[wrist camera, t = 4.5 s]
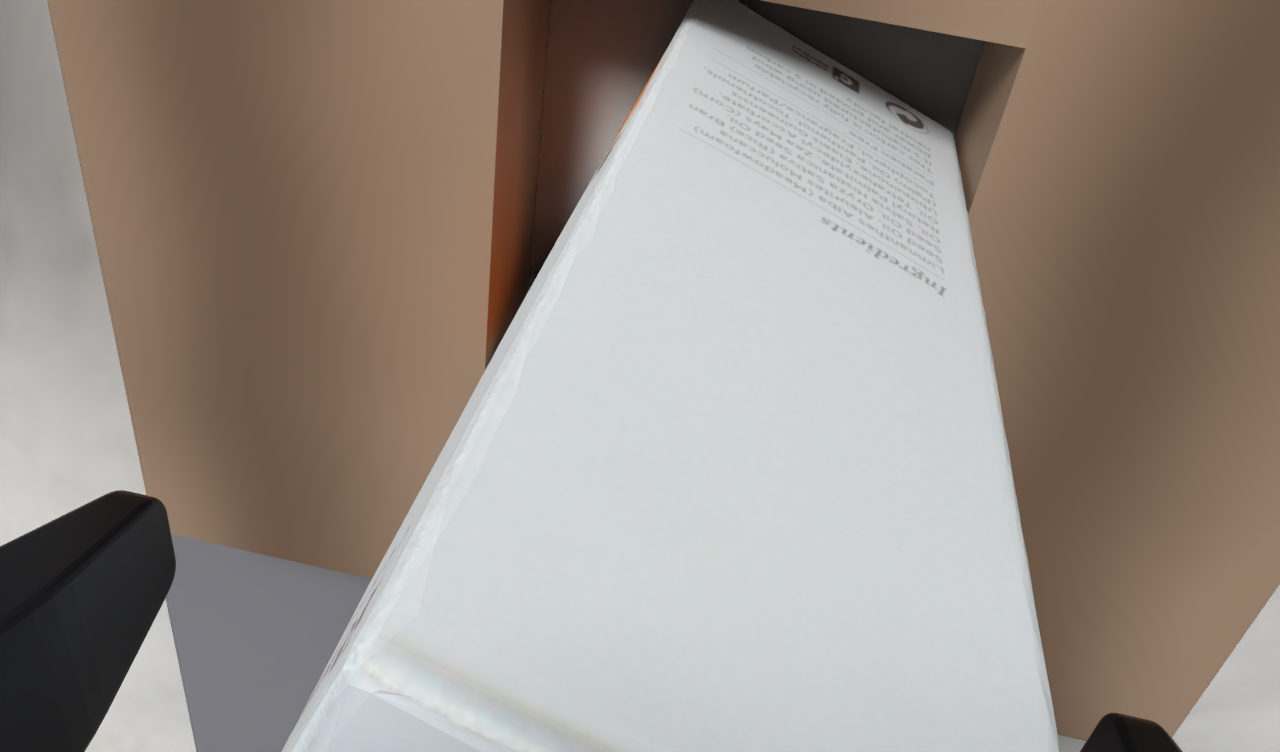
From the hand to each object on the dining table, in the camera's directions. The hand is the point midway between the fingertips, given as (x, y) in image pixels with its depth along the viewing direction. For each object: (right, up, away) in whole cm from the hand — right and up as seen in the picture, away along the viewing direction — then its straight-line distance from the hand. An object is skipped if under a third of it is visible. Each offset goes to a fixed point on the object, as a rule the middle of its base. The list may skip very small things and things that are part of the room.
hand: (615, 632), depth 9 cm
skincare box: (+2, +5, +7) cm, 9 cm away
